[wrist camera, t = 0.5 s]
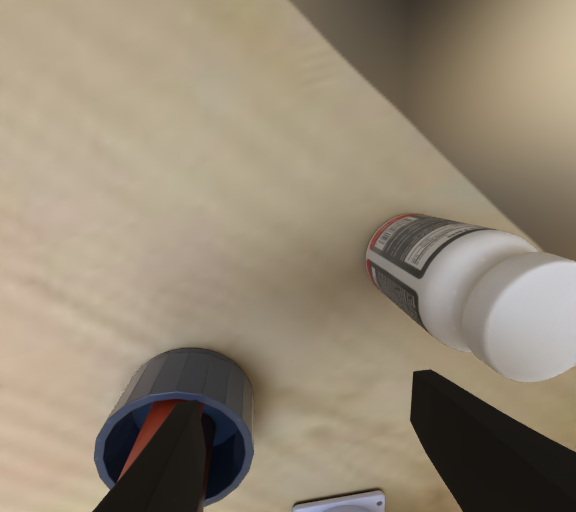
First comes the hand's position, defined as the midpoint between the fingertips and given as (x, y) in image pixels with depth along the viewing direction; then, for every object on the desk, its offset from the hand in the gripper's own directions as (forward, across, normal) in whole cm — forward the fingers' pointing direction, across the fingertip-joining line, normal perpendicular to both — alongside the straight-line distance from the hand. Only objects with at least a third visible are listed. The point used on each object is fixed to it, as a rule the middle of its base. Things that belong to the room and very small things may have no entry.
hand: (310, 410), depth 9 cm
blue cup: (+10, +7, +8) cm, 15 cm away
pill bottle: (+10, -8, -2) cm, 13 cm away
